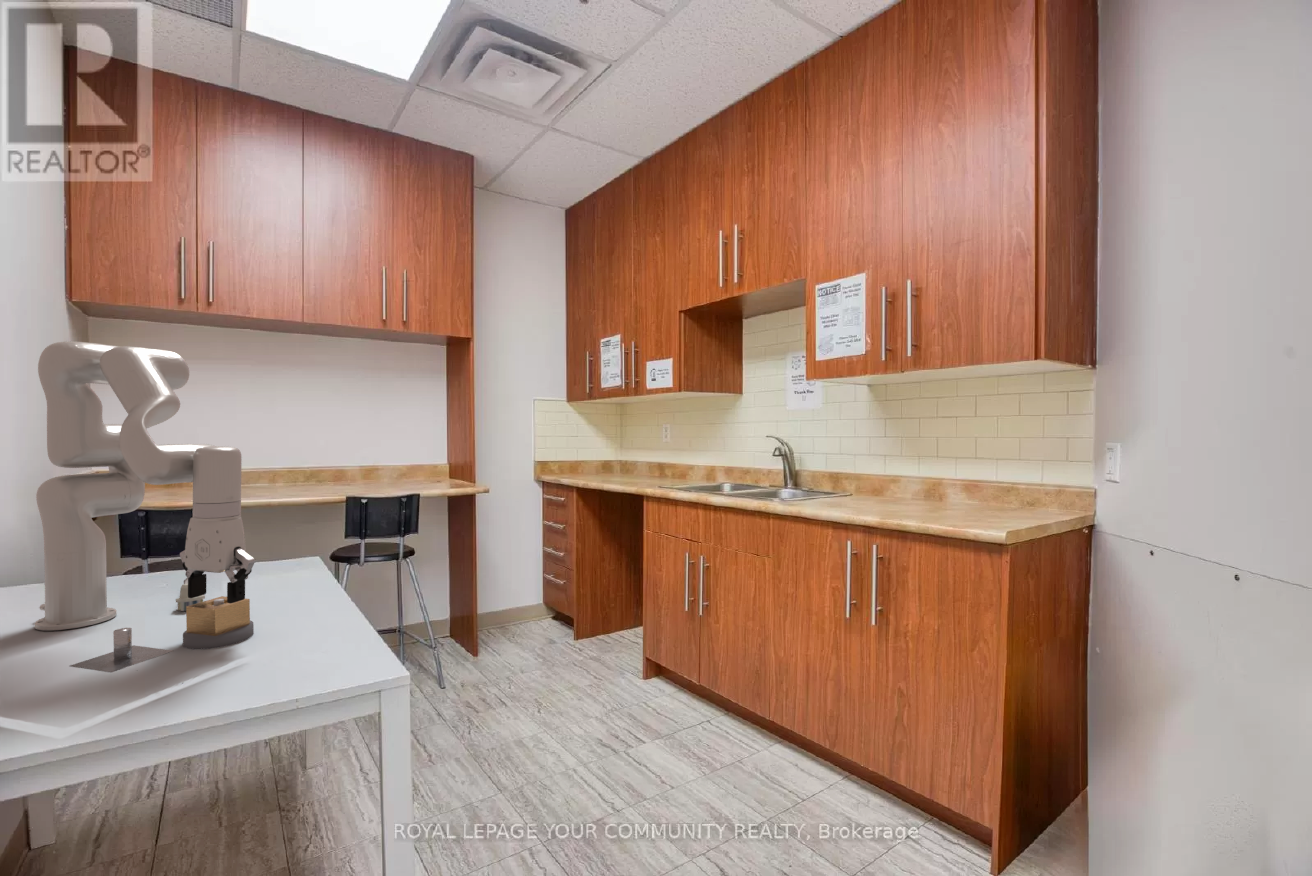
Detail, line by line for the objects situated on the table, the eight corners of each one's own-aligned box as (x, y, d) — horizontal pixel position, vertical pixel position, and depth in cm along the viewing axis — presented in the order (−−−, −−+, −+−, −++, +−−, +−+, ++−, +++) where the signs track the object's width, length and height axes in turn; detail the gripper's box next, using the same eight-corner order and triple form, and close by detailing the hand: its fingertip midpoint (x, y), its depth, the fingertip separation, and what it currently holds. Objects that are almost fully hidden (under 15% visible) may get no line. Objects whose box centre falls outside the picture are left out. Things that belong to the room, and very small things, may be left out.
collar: (186, 632, 113) (186, 606, 112) (222, 621, 119) (221, 596, 119) (215, 636, 111) (215, 609, 111) (249, 624, 118) (249, 598, 117)
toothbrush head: (207, 572, 157) (204, 578, 137) (207, 598, 156) (204, 608, 136) (182, 575, 154) (174, 582, 133) (182, 601, 153) (174, 612, 133)
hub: (168, 651, 111) (167, 605, 111) (224, 631, 122) (224, 590, 122) (213, 657, 108) (212, 610, 108) (267, 636, 119) (266, 594, 119)
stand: (68, 671, 102) (68, 636, 102) (133, 650, 111) (133, 618, 111) (111, 678, 99) (110, 642, 99) (173, 656, 109) (173, 623, 109)
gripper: (163, 510, 113) (162, 599, 114) (233, 516, 109) (233, 609, 109) (202, 505, 121) (201, 589, 121) (270, 511, 116) (269, 598, 116)
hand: (216, 598), depth 115 cm, fingers open, 9 cm apart
